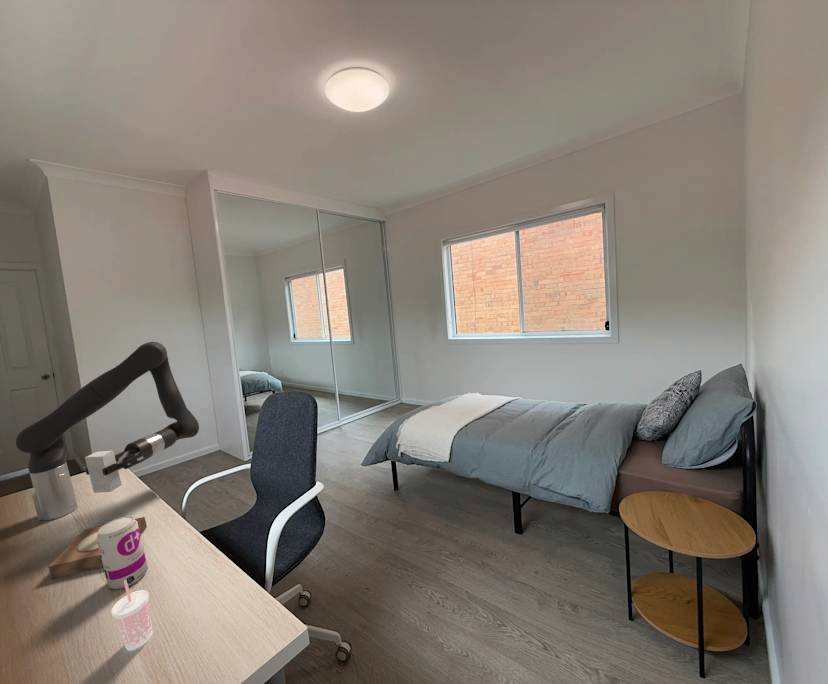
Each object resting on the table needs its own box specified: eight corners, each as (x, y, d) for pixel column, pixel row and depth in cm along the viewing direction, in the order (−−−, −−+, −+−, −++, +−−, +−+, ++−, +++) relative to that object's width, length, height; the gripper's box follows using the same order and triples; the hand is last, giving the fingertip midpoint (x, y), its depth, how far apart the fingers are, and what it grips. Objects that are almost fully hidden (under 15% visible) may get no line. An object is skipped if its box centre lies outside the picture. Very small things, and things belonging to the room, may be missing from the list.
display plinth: (51, 579, 98) (48, 565, 97) (87, 540, 113) (84, 528, 112) (121, 562, 102) (118, 548, 101) (146, 527, 117) (144, 515, 116)
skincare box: (122, 484, 119) (114, 450, 118) (110, 492, 115) (101, 456, 113) (105, 485, 120) (96, 451, 118) (93, 493, 116) (83, 457, 114)
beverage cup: (163, 625, 80) (150, 567, 78) (144, 652, 74) (129, 590, 72) (134, 628, 80) (120, 570, 78) (113, 656, 74) (97, 594, 72)
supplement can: (155, 568, 98) (144, 516, 95) (122, 594, 90) (109, 538, 88) (134, 564, 100) (122, 513, 98) (100, 588, 93) (86, 533, 90)
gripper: (127, 437, 131) (74, 460, 115) (159, 438, 128) (109, 461, 112) (131, 457, 133) (80, 482, 117) (163, 458, 129) (115, 484, 113)
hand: (95, 472), depth 114 cm, fingers closed on skincare box, 6 cm apart
